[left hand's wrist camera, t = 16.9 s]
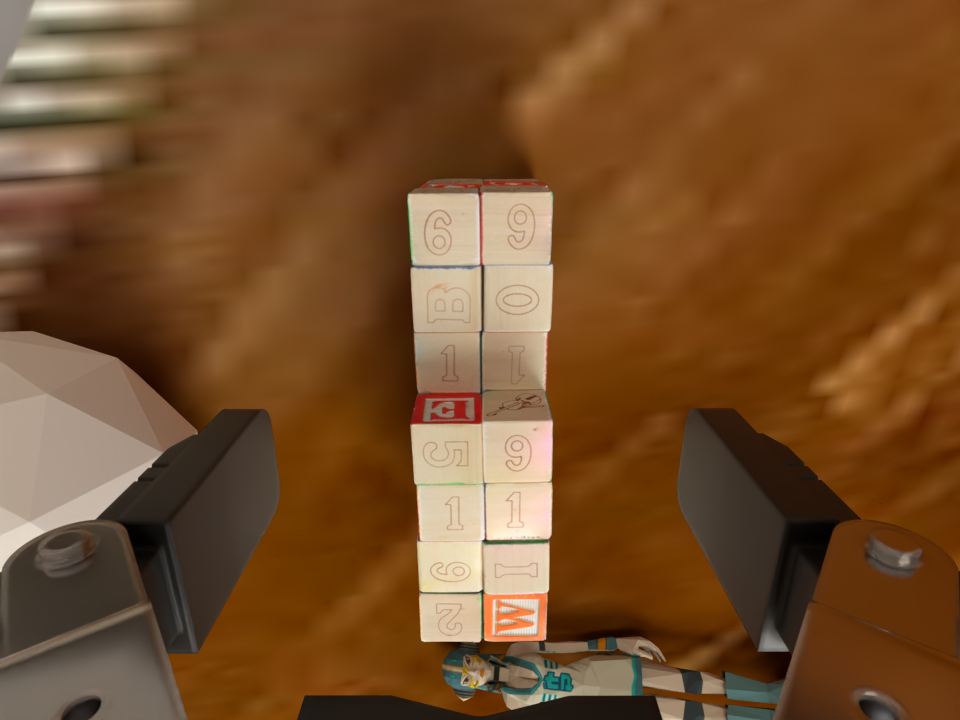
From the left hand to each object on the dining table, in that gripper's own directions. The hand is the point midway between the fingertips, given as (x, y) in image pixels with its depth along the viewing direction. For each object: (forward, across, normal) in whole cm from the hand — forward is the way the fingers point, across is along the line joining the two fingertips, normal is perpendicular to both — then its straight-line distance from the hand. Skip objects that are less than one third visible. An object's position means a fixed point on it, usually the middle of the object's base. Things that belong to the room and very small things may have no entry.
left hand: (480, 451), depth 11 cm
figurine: (+24, +12, -32) cm, 42 cm away
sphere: (+24, -24, -12) cm, 36 cm away
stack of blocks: (+24, 0, -7) cm, 25 cm away
